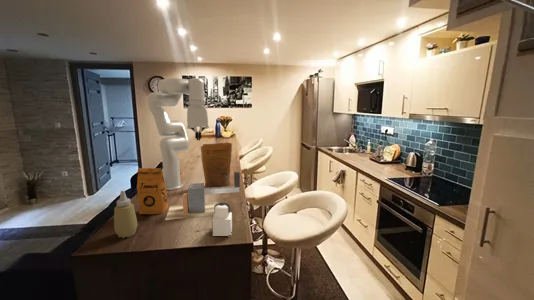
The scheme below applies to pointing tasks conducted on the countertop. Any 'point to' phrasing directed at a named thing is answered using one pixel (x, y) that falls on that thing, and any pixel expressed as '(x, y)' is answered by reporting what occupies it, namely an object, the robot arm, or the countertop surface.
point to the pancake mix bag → (216, 164)
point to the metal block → (196, 198)
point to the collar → (185, 203)
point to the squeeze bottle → (124, 217)
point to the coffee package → (151, 191)
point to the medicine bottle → (222, 220)
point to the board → (177, 211)
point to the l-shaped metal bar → (225, 189)
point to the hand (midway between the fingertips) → (198, 140)
